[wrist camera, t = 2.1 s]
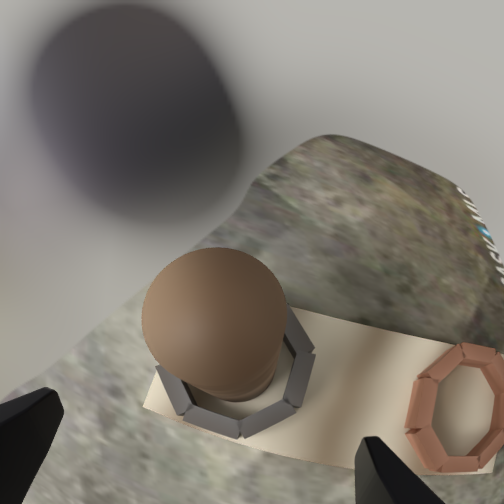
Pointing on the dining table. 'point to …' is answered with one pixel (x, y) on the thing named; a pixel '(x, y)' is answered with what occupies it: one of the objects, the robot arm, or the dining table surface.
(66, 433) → the dining table surface
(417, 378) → the socket rail
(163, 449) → the dining table surface
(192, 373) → the walnut peg
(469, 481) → the dining table surface
